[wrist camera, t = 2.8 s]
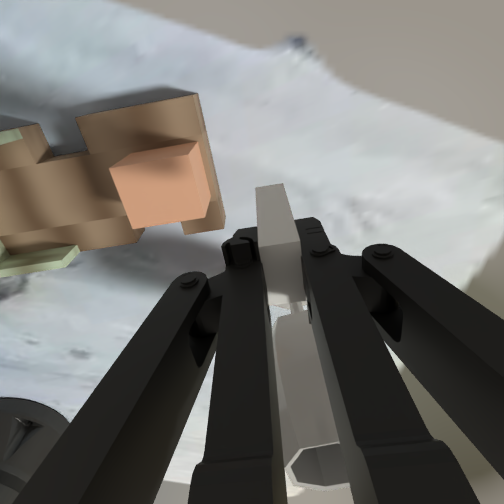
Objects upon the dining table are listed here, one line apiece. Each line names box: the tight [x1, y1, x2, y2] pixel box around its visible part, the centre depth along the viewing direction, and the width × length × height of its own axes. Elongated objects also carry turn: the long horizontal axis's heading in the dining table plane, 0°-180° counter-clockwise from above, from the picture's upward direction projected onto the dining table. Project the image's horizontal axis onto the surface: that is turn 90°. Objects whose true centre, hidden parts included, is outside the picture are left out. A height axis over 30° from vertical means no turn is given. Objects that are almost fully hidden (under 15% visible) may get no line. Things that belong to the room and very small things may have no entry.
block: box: [109, 141, 211, 229], centre depth 26 cm, size 6×5×5 cm
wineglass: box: [272, 298, 350, 491], centre depth 28 cm, size 9×9×21 cm
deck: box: [0, 93, 226, 277], centre depth 29 cm, size 23×12×6 cm, turn 99°
